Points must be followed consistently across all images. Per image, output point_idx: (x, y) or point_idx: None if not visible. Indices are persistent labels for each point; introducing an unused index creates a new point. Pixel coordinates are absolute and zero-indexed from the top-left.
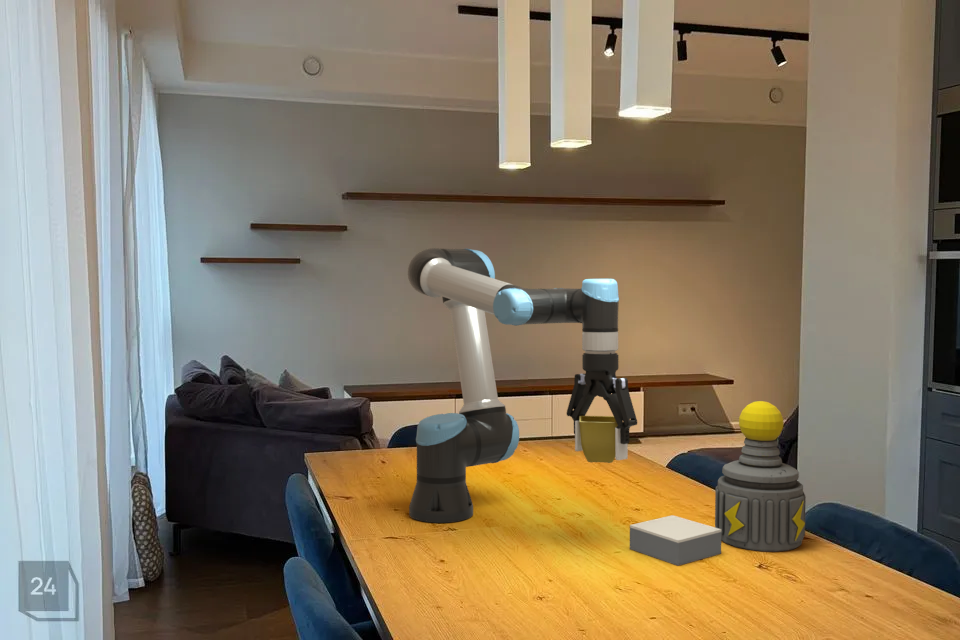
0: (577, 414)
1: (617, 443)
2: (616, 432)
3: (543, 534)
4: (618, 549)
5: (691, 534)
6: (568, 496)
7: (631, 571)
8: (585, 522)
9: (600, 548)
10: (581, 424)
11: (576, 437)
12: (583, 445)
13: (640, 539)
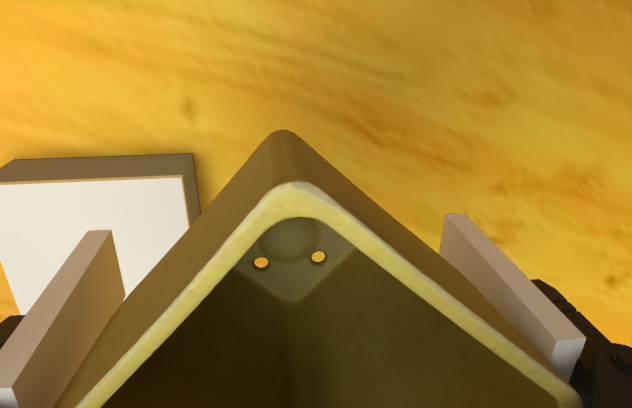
0: (605, 397)
1: (47, 293)
2: (18, 356)
3: (433, 40)
4: (204, 126)
5: (16, 254)
6: (604, 310)
7: (16, 16)
8: (433, 210)
9: (237, 90)
10: (276, 178)
11: (492, 256)
12: (271, 134)
13: (143, 167)
